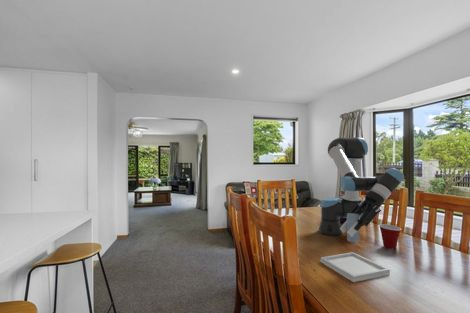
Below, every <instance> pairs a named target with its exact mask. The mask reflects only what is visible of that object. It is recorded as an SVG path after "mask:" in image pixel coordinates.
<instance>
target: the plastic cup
mask: <svg viewBox="0 0 470 313" xmlns="http://www.w3.org/2000/svg"><path fill="white" fill-rule="evenodd" d="M378 227H379V228H380V234H381V240H382V244H383V247H384V248H385V249H389V250H396V249H397V246H398V242H399V237H400V234H401V231H402V230H403V229H402V228H401V227H399V226H396V225H391V224H387V223H385V224H383V223H380V224H378Z"/></svg>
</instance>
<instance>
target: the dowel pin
mask: <svg viewBox="0 0 470 313" xmlns="http://www.w3.org/2000/svg"><path fill="white" fill-rule="evenodd" d="M359 219H360V218H359V214H355V213H347V230H346V239H347V240H346V241H348V242H350V243H360V229H359V230H358V231H357V232H356V233H355V234H354V235H353V236H352V237H351V236H350V235H349V234H348V233H347V232H348V231H349V229H350V228H351V227H352V226H353V225H354V224H355V222H358V221H357V220H359ZM358 223H359V222H358Z"/></svg>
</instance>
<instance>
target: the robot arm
mask: <svg viewBox="0 0 470 313" xmlns="http://www.w3.org/2000/svg"><path fill="white" fill-rule="evenodd" d="M368 152H369V145H368V143H367V140H366V139H365V138H363V137H356V136H354V137H337V138H334V139H333V140H332V141H331V142H329V144H328V146H327V154H328V156H329V157H330V159H332V160H333V162H334V164H335V167H336V168H337V170H338V172H339V174H340V176H341V178H340V187H341V189H342V190H344V191H345V195H344V196H341V197H342V199H340V197H325V198H323V199H322V200H321V204H320V207H321V210H320V213H321V215H320V216H321V217H320V218H321V220H320V224H319V226H318V232H319V234H322V235H325V236H331V237H338V236H342V235H343V233H344V234H345V233H346V234H347V233H348V234H349V235H350V236H351V237H352V236H353V235H354V234H355V233H356V232H357V231H358V230H359V231H360V229H361V228H362V227H364V226H365V227H368V226H369V224H370V223H371V222H372V221H373V220H374V218H375V217H376V216H377V215H378V214H379V213H381V212H382V210H381V209H380V207H382V205H383V204H384V203H385V202H386V200H387V199H388V198H389V197H390V196H391V194H392V193H394V191H395V190H396V189H397V188H398V186H399V185H401V184H402V182H403V181H404V179H405V175H404V173H403V172H402V171H401V170H399V169H397V168H394V167H391V168H390V167H389V168H388V169H387V170H386V171H385V172H384V174H381V175H377V176H361V167H362V166H361V162H362V160H363V159H364V156H366V155H368ZM360 192H367V193H366V194H365V195H364V198H365V199H364V200H362V198H361V196H360ZM347 213H355V214H359V220H357V221H358V222H359V223H358V222H355V224H354V225H353V226H352V227H351V228H350V229H349V231H348V232H347V220H346V221H345V222H343V224H342V225H341V222H340V217H342V218H347Z"/></svg>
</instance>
